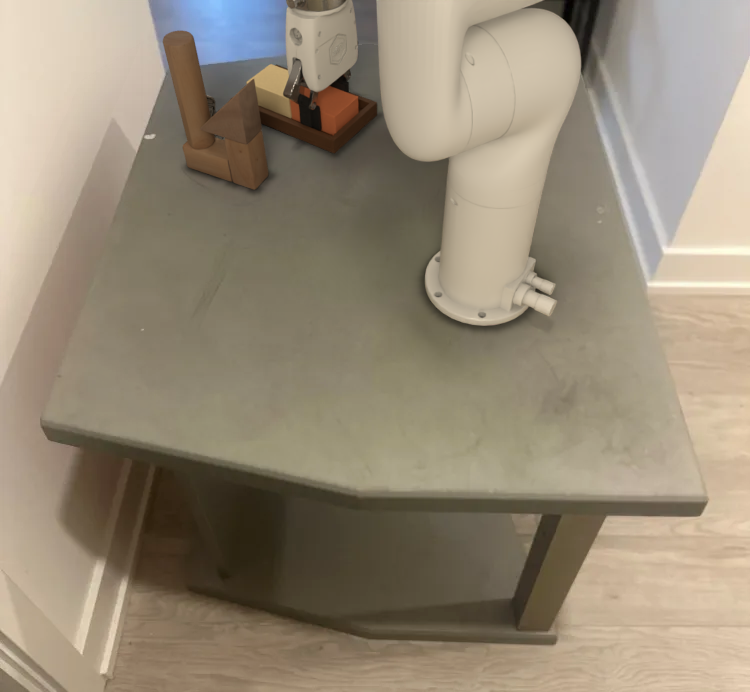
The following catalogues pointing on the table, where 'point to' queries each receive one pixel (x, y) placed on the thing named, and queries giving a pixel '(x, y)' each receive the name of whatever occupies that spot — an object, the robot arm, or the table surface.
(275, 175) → the table surface
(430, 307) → the table surface
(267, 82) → the sand pad
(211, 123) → the brown l-shaped piece
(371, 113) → the frame
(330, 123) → the terracotta pad
